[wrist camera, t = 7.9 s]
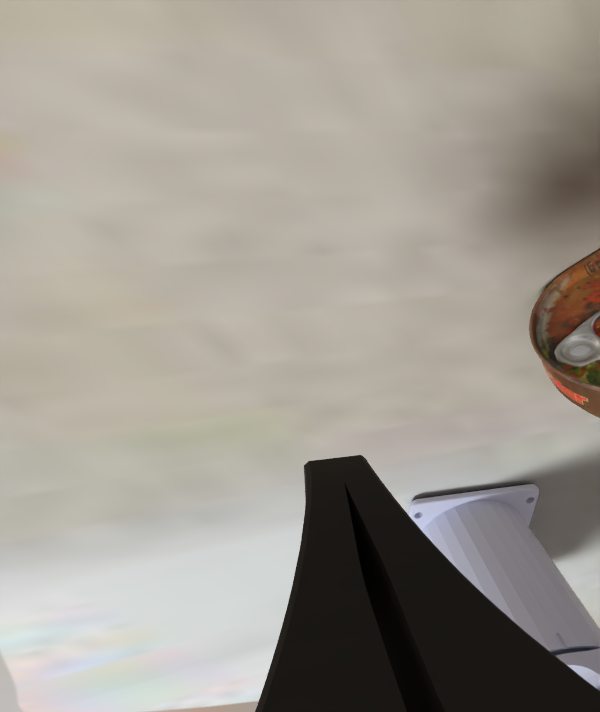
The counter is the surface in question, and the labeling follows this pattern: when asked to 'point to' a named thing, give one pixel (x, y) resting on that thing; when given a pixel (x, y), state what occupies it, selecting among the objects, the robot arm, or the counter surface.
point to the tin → (571, 333)
